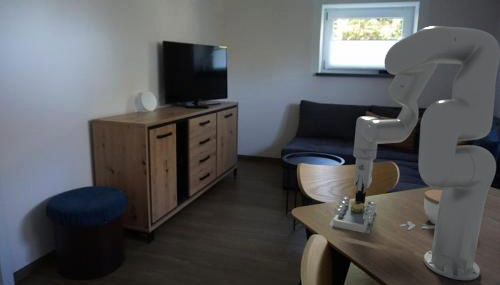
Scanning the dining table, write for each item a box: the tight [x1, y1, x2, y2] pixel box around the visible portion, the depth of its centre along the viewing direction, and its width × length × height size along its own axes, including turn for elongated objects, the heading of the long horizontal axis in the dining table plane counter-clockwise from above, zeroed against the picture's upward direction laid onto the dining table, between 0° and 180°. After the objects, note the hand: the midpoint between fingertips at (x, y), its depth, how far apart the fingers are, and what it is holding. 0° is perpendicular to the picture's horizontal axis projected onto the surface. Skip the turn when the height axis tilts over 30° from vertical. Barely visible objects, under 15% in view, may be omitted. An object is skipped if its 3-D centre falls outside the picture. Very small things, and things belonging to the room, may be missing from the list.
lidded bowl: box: [423, 189, 443, 225], centre depth 117 cm, size 13×13×11 cm
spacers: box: [333, 196, 377, 226], centre depth 120 cm, size 14×12×3 cm
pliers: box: [398, 220, 435, 231], centre depth 116 cm, size 10×2×15 cm
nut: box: [350, 200, 365, 214], centre depth 123 cm, size 4×4×3 cm
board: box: [328, 204, 377, 235], centre depth 118 cm, size 20×12×3 cm, turn 155°
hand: (359, 202), depth 129 cm, fingers closed
